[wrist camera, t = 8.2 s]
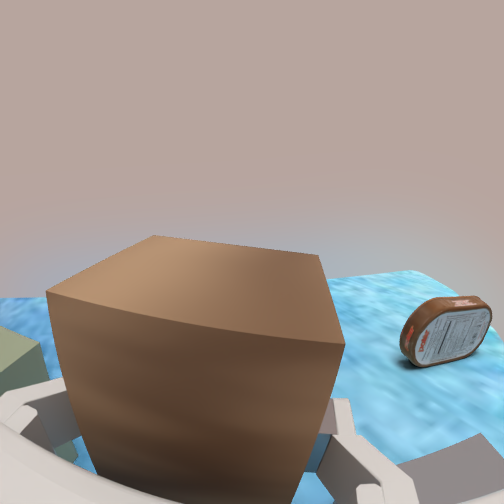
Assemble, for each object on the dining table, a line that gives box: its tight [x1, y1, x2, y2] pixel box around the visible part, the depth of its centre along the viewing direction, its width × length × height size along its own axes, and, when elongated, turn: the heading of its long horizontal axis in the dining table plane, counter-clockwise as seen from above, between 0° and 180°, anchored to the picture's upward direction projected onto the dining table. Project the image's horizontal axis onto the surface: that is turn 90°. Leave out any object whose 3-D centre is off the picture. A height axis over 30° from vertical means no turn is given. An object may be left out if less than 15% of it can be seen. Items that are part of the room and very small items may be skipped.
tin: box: [399, 296, 492, 367], centre depth 32 cm, size 15×3×8 cm, turn 99°
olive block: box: [0, 326, 78, 463], centre depth 13 cm, size 5×5×10 cm
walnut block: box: [46, 235, 345, 504], centre depth 8 cm, size 5×5×10 cm
